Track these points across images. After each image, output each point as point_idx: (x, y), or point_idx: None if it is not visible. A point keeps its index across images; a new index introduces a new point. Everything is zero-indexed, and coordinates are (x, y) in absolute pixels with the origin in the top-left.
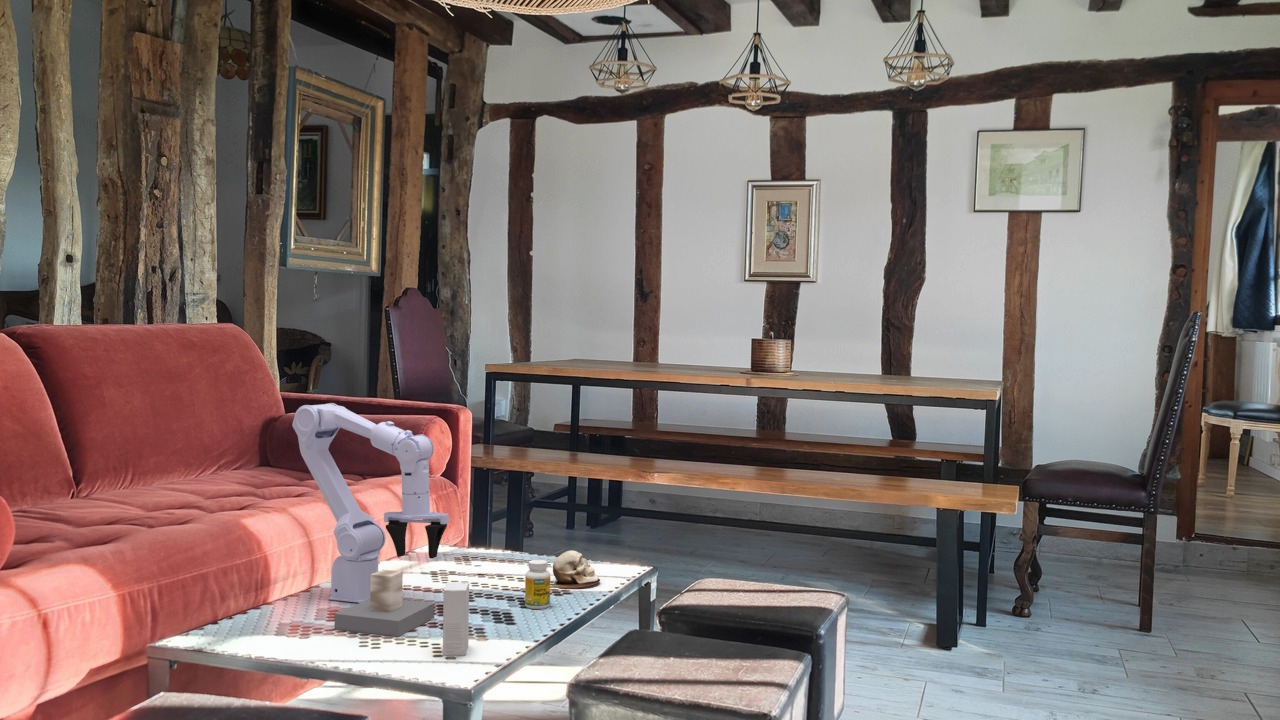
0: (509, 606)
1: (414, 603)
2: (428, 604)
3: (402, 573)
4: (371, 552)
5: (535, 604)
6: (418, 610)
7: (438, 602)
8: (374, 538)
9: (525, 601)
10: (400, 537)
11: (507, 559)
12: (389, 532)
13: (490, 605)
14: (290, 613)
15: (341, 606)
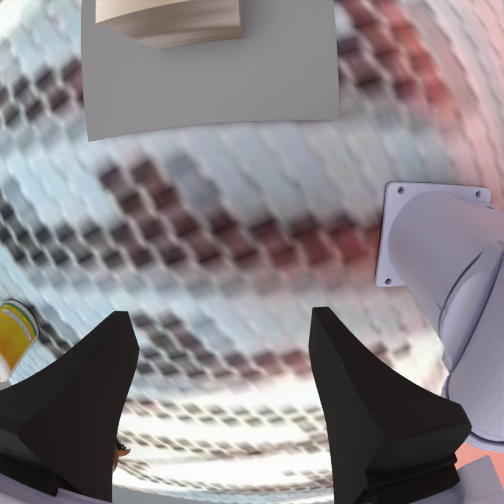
0: (49, 304)
1: (141, 103)
2: (94, 118)
3: (100, 24)
4: (470, 323)
5: (3, 304)
6: (84, 44)
7: (199, 280)
8: (488, 374)
9: (22, 314)
10: (338, 405)
11: (264, 492)
12: (420, 392)
13: (79, 299)
14: (501, 49)
15: (439, 140)
